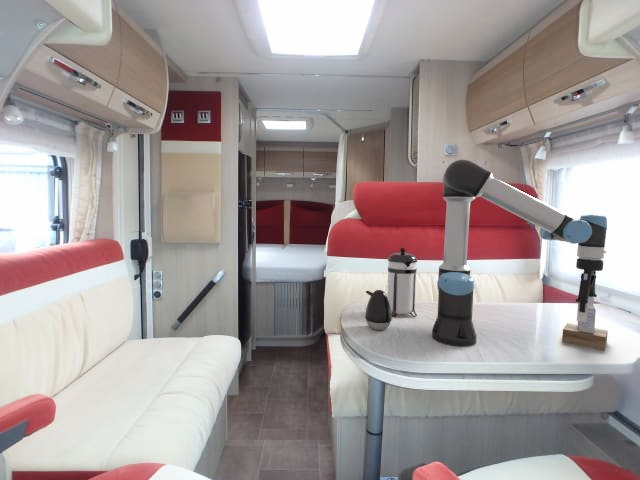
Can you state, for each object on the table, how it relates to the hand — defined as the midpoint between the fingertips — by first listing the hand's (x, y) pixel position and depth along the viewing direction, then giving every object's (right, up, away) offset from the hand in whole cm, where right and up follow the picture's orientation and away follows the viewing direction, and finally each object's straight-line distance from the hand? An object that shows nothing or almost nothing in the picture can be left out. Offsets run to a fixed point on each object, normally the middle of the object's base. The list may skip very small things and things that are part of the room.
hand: (584, 317), depth 127 cm
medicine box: (0, -5, 0) cm, 5 cm away
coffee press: (-59, -6, +34) cm, 68 cm away
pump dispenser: (-72, -7, +12) cm, 74 cm away
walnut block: (0, -9, +1) cm, 9 cm away
